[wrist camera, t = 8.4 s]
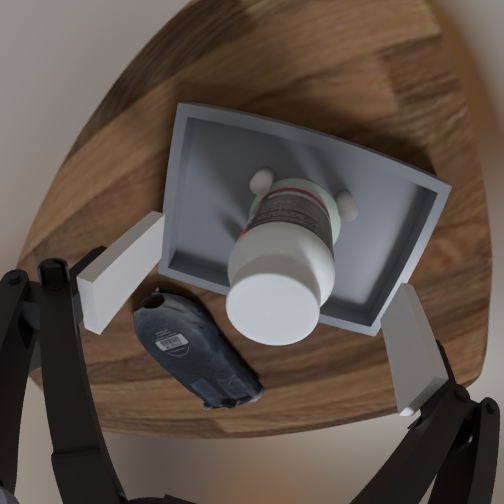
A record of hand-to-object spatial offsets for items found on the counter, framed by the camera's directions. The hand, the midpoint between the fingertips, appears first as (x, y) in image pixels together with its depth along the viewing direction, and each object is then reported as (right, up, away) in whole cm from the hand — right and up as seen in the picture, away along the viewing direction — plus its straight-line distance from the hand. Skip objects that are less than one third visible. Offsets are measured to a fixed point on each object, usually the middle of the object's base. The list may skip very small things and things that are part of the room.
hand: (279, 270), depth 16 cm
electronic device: (-7, -9, +15) cm, 19 cm away
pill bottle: (+1, +3, +5) cm, 6 cm away
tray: (+2, +3, +6) cm, 7 cm away
